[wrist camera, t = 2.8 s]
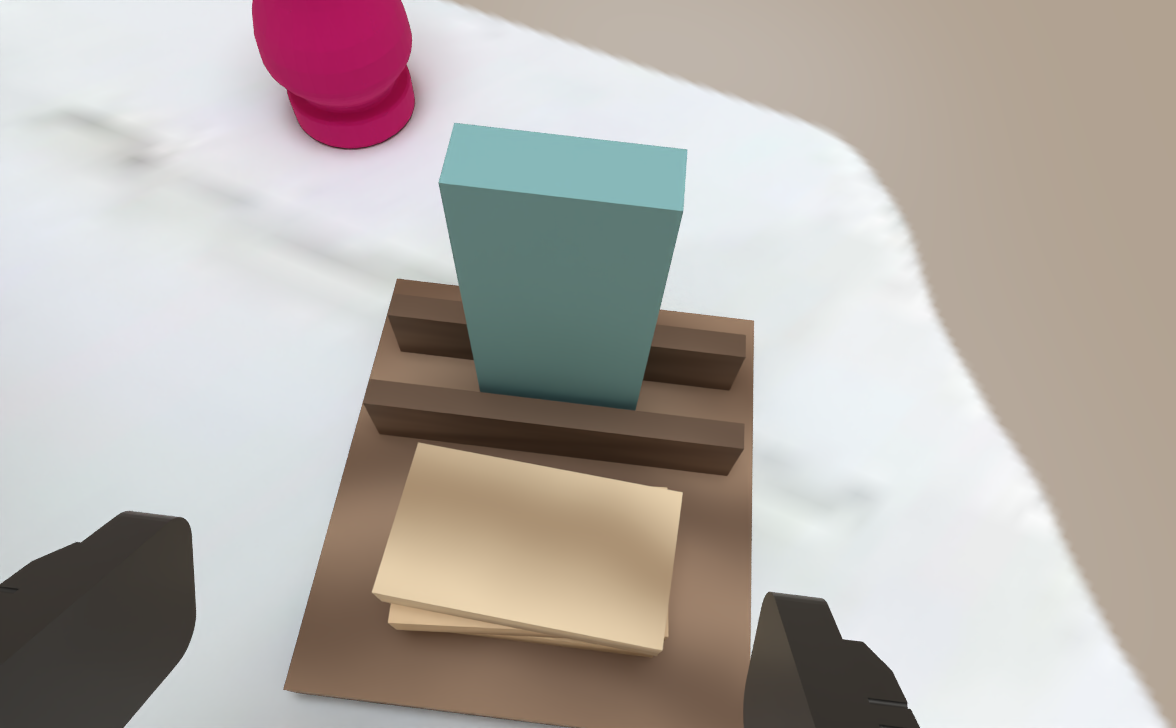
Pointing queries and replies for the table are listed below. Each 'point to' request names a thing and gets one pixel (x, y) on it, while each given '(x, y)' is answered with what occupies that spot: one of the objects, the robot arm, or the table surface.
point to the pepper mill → (340, 65)
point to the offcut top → (533, 549)
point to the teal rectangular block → (561, 258)
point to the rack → (563, 441)
